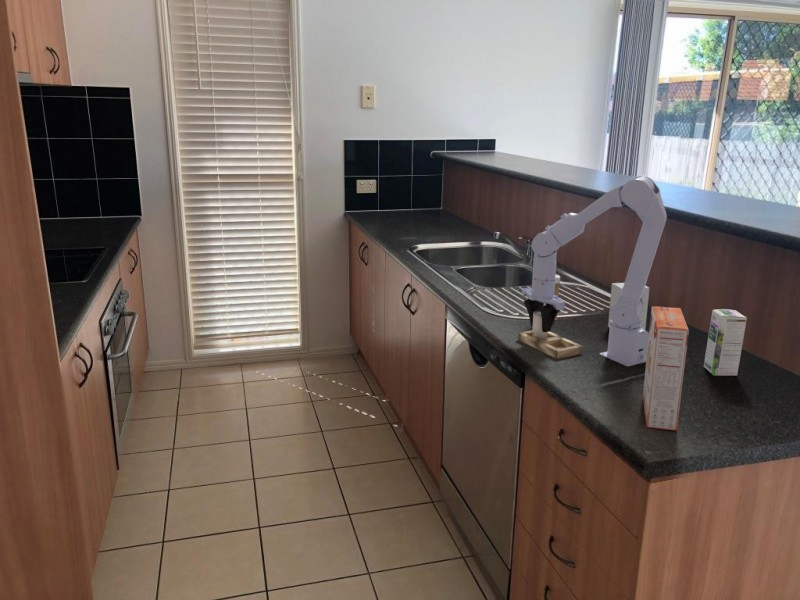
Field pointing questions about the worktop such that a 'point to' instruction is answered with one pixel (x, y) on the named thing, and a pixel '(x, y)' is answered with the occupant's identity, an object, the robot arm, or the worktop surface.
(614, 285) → the small box
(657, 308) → the cracker box
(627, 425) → the worktop surface
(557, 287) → the sprinkles bottle
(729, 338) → the syrup box
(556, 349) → the caddy
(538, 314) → the salt shaker
